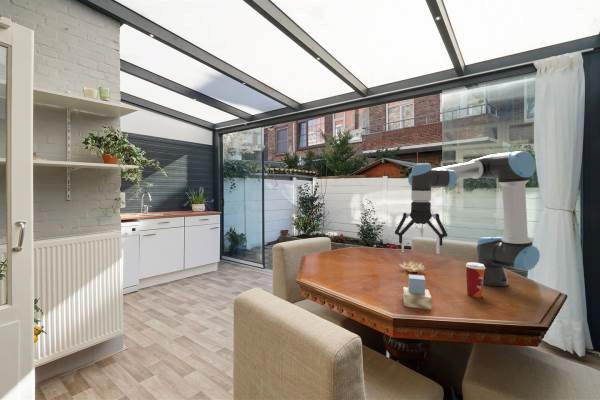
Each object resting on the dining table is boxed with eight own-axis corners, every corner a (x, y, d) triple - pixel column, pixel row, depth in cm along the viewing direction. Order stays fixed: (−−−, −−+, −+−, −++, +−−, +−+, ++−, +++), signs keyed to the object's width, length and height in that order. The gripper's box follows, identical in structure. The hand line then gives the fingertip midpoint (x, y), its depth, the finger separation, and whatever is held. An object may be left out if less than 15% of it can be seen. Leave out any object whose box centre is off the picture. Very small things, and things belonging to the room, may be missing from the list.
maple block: (427, 301, 126) (428, 289, 126) (431, 310, 116) (431, 297, 116) (402, 298, 128) (403, 286, 128) (404, 307, 119) (404, 294, 119)
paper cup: (484, 299, 127) (485, 267, 127) (464, 295, 131) (465, 264, 131) (484, 294, 134) (485, 263, 133) (465, 290, 138) (466, 261, 137)
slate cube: (423, 289, 125) (423, 275, 125) (425, 294, 119) (425, 279, 119) (408, 288, 127) (408, 274, 126) (409, 292, 121) (409, 278, 121)
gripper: (452, 201, 123) (451, 252, 124) (389, 200, 130) (388, 248, 131) (456, 202, 116) (455, 256, 116) (389, 201, 123) (388, 252, 123)
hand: (419, 252), depth 124 cm, fingers open, 13 cm apart
